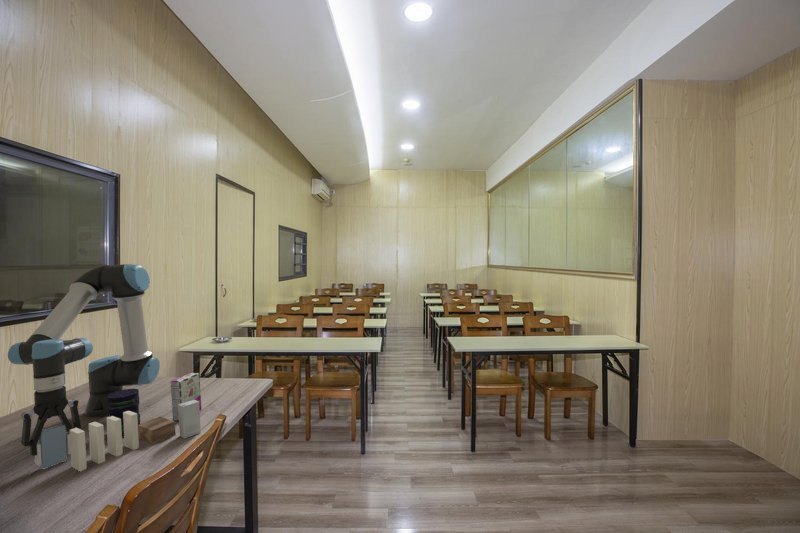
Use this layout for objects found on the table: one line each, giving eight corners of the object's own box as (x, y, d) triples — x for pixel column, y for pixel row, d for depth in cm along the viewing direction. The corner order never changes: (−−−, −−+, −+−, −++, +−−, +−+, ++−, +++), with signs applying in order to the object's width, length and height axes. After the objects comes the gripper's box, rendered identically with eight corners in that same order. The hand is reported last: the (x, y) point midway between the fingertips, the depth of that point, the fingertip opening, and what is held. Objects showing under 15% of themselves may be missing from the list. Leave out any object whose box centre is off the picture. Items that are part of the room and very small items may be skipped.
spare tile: (42, 470, 119) (41, 432, 119) (40, 468, 120) (38, 431, 120) (66, 460, 124) (65, 424, 124) (64, 459, 125) (62, 423, 125)
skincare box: (196, 430, 144) (195, 398, 144) (201, 433, 142) (199, 401, 141) (178, 436, 140) (177, 403, 139) (183, 439, 137) (182, 406, 137)
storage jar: (106, 440, 138) (104, 399, 138) (112, 429, 147) (110, 391, 147) (138, 433, 143) (137, 394, 143) (142, 423, 152) (140, 386, 151)
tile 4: (124, 445, 133) (122, 412, 133) (130, 443, 135) (128, 410, 135) (133, 449, 130) (131, 415, 130) (138, 447, 132) (137, 413, 132)
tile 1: (71, 466, 120) (69, 429, 120) (78, 464, 122) (76, 427, 122) (79, 471, 117) (77, 433, 117) (86, 468, 119) (84, 431, 119)
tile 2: (90, 459, 125) (88, 423, 124) (96, 456, 126) (95, 421, 126) (98, 463, 122) (96, 427, 121) (105, 461, 123) (103, 425, 123)
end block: (138, 438, 139) (137, 424, 139) (160, 429, 146) (160, 416, 146) (152, 444, 134) (151, 430, 134) (175, 434, 141) (174, 421, 141)
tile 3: (108, 452, 129) (106, 417, 129) (114, 450, 131) (112, 415, 130) (116, 456, 126) (114, 421, 126) (122, 454, 128) (121, 419, 127)
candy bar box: (191, 409, 165) (190, 372, 164) (201, 410, 164) (200, 372, 163) (171, 420, 154) (169, 380, 153) (182, 421, 153) (180, 381, 152)
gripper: (11, 400, 111) (15, 477, 112) (92, 380, 128) (95, 447, 129) (3, 396, 115) (7, 470, 115) (82, 377, 132) (85, 442, 133)
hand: (53, 458), depth 122 cm, fingers open, 7 cm apart
